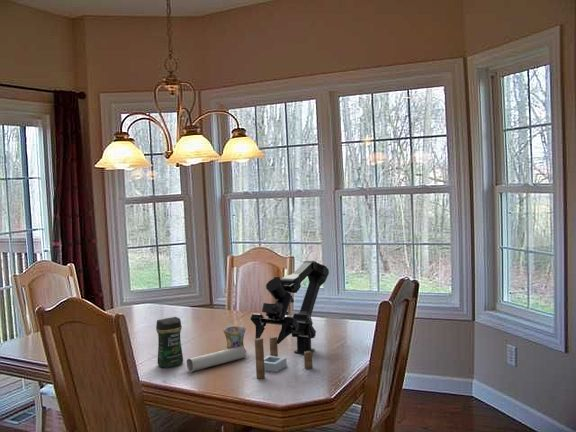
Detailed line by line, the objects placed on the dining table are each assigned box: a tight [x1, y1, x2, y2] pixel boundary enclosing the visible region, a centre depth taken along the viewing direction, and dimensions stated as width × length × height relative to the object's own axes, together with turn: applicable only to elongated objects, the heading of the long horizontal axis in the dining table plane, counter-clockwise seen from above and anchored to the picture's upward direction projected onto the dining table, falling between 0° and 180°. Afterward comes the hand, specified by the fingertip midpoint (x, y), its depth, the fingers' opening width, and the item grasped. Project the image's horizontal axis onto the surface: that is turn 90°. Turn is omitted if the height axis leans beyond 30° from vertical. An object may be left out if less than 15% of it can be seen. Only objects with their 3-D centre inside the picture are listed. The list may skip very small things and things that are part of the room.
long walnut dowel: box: [254, 337, 266, 380], centre depth 199 cm, size 3×3×14 cm
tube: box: [186, 346, 247, 373], centre depth 216 cm, size 5×5×25 cm
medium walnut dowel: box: [269, 335, 279, 357], centre depth 218 cm, size 3×3×9 cm
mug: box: [222, 325, 247, 350], centre depth 228 cm, size 12×9×11 cm
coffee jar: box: [155, 316, 184, 369], centre depth 218 cm, size 10×8×19 cm
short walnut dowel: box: [303, 351, 313, 370], centre depth 207 cm, size 3×3×6 cm
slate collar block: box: [264, 354, 288, 373], centre depth 210 cm, size 8×8×3 cm
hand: (266, 342), depth 203 cm, fingers open, 9 cm apart
